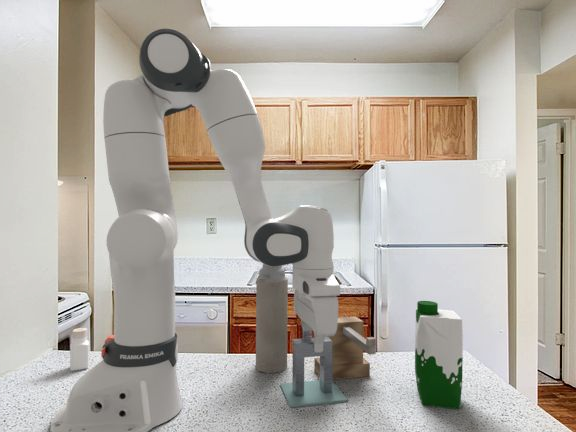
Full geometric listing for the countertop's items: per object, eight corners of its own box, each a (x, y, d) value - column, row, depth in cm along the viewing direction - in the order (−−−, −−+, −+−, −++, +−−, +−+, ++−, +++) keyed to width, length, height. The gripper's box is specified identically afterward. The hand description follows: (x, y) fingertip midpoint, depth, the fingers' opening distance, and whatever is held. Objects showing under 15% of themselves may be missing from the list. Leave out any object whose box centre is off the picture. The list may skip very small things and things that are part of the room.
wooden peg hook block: (343, 410, 72) (344, 341, 72) (314, 370, 91) (314, 315, 91) (399, 403, 75) (399, 337, 75) (359, 366, 94) (359, 313, 94)
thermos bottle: (267, 358, 99) (268, 254, 99) (293, 364, 94) (293, 255, 95) (249, 368, 92) (250, 256, 92) (275, 375, 88) (276, 258, 88)
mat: (290, 407, 73) (290, 405, 73) (280, 385, 82) (280, 383, 82) (347, 401, 75) (347, 399, 75) (330, 380, 85) (330, 378, 85)
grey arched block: (295, 396, 77) (296, 343, 77) (292, 389, 79) (292, 339, 80) (332, 392, 78) (332, 341, 78) (327, 386, 81) (327, 336, 81)
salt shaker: (69, 372, 89) (70, 332, 89) (70, 366, 92) (70, 328, 92) (88, 369, 91) (89, 330, 91) (88, 363, 94) (88, 326, 94)
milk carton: (412, 387, 82) (412, 297, 82) (455, 391, 80) (456, 300, 80) (418, 407, 73) (418, 307, 74) (467, 412, 71) (467, 309, 72)
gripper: (287, 273, 89) (287, 331, 88) (312, 289, 69) (311, 363, 68) (312, 273, 90) (312, 329, 90) (344, 288, 70) (343, 361, 70)
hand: (312, 344), depth 79 cm, fingers open, 6 cm apart
